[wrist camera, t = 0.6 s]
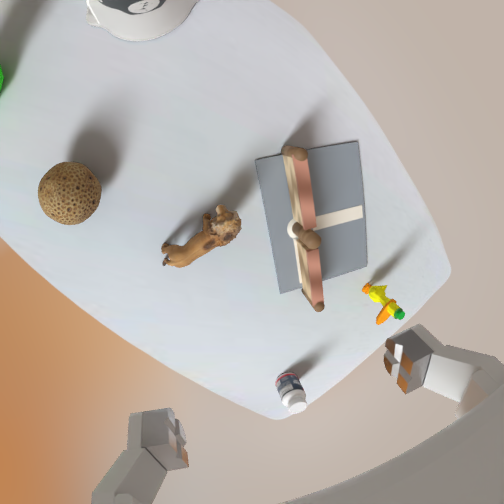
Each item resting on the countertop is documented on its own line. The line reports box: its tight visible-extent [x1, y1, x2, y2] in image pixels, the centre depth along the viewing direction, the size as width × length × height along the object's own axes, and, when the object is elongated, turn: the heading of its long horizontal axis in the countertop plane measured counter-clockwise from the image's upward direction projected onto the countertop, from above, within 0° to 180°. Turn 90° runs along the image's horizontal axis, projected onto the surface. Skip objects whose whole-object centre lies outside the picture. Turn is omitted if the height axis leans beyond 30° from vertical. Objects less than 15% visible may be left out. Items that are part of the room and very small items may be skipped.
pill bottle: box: [275, 372, 307, 414], centre depth 62 cm, size 5×5×9 cm
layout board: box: [255, 142, 367, 294], centre depth 52 cm, size 24×18×1 cm
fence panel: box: [281, 145, 317, 230], centre depth 45 cm, size 12×2×6 cm, turn 11°
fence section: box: [292, 222, 324, 312], centre depth 51 cm, size 15×2×7 cm, turn 11°
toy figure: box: [362, 283, 405, 325], centre depth 55 cm, size 7×4×12 cm, turn 147°
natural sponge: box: [38, 162, 101, 225], centre depth 37 cm, size 9×9×10 cm
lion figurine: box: [161, 205, 241, 268], centre depth 44 cm, size 15×5×9 cm, turn 130°
